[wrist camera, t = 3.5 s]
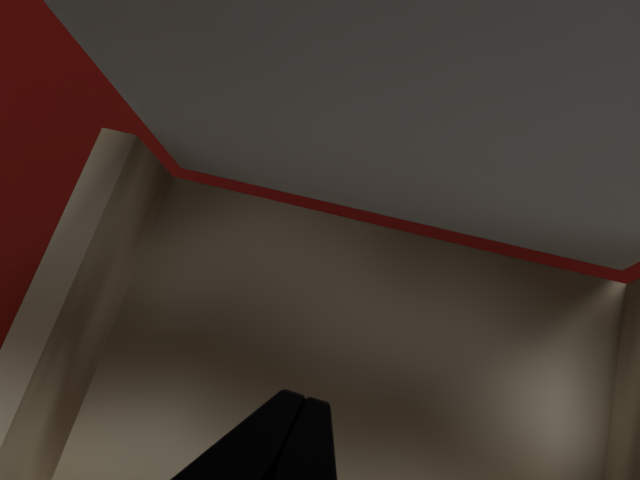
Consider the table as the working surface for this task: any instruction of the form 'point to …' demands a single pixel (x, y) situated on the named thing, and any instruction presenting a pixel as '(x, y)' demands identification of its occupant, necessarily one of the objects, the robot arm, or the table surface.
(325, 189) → the panel
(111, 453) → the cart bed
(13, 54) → the table surface
